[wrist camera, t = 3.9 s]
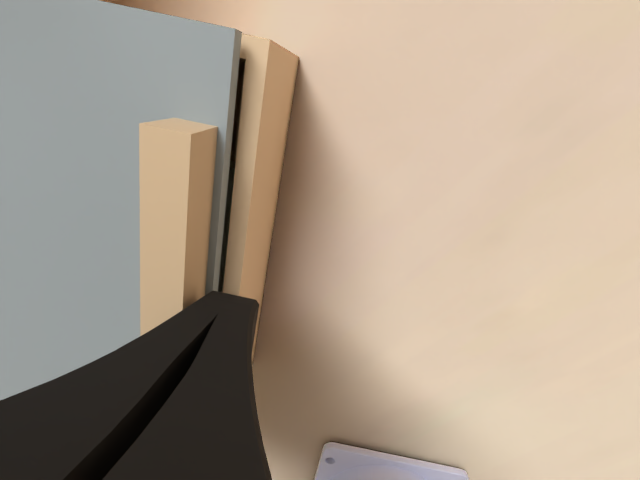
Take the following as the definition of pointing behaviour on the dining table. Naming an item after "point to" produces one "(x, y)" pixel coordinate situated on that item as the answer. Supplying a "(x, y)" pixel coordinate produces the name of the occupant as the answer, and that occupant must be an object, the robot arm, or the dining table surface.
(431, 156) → the dining table surface
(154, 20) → the lid
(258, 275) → the box
